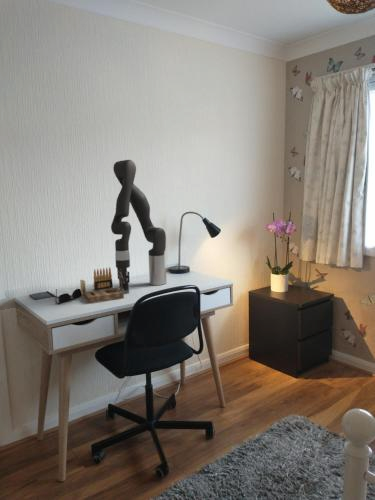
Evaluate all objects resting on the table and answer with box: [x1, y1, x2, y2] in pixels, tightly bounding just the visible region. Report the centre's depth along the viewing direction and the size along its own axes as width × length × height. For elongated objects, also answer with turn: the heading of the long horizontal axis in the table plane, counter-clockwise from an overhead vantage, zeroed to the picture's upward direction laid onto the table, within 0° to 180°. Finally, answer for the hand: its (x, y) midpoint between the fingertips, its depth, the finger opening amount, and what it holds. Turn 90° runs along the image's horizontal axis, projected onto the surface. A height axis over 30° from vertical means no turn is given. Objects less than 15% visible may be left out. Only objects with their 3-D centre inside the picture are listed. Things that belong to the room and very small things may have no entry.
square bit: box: [118, 278, 130, 295], centre depth 219 cm, size 4×4×8 cm
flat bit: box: [79, 279, 87, 297], centre depth 216 cm, size 2×4×8 cm, turn 27°
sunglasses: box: [46, 288, 83, 305], centre depth 210 cm, size 17×14×5 cm
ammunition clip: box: [93, 267, 114, 291], centre depth 229 cm, size 11×2×12 cm, turn 122°
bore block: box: [83, 287, 125, 304], centre depth 210 cm, size 18×12×3 cm, turn 117°
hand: (123, 288), depth 219 cm, fingers open, 7 cm apart
